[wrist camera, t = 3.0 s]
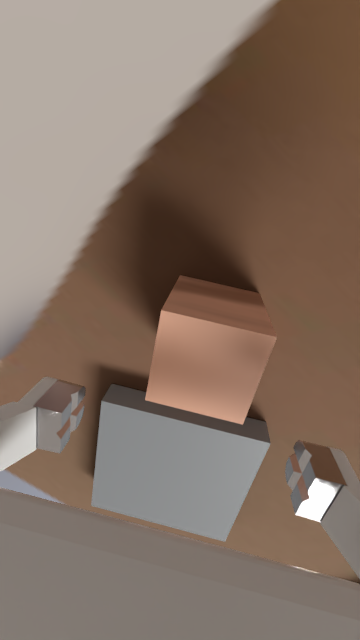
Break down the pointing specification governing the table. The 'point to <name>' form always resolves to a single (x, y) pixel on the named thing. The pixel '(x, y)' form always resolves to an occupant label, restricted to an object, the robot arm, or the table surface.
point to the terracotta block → (210, 349)
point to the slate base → (174, 463)
